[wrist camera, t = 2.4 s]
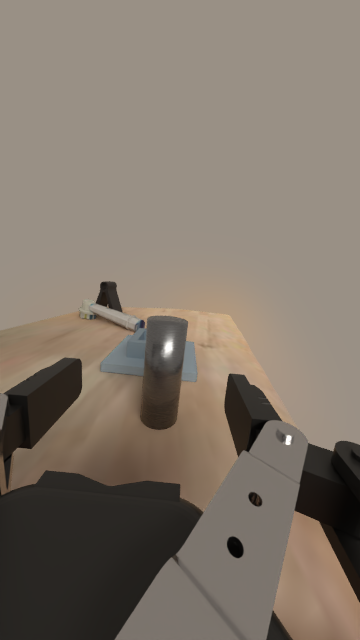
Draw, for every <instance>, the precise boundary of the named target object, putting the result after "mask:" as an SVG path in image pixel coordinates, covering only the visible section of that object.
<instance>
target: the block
mask: <svg viewBox="0 0 360 640" xmlns="http://www.w3.org/2000/svg"><path fill="white" fill-rule="evenodd" d="M146 332H147V329H144V328H139V329H138V330H137V331H136V332H135V333H134V335H128V336H127V337H126V338H125V339H124V340H123V341H122V342H121V343H120V344H119V345H118V346H117V347H116V348H115V349H114V350H113V351H112V352H111V353H110V354H109V355H108V356H107V357H106V358H105V359H104V360H103V361H102V362H101V371H103V372H112V373H121V374H130V375H139V376H143V375H144V361H145V346H146ZM181 380H184V381H193V382H196V380H197V366H196V357H195V348H194V342H188V341H186V344H185V353H184V361H183V370H182V379H181Z"/></svg>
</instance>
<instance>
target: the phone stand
mask: <svg viewBox="0 0 360 640" xmlns="http://www.w3.org/2000/svg"><path fill="white" fill-rule="evenodd" d="M116 287H117V285H116V283H115V282H102V283H101V284H100V288H101V289H100V293H99V296H98V298H97V301H96V304H98V305H101V306H104V307H107V305H108V306H109V308H110V309H113V310H116V311H119V312H122V309H121V305H120V302H119V298H118V295H117V291H116ZM122 313H123V312H122Z"/></svg>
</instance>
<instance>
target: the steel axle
mask: <svg viewBox="0 0 360 640" xmlns="http://www.w3.org/2000/svg"><path fill="white" fill-rule="evenodd" d="M187 327H188V321H186V320H184V319H181V318H177V317H172V316H152V317H149V318H148V319H147V332H146V346H145V361H144V375H143V389H142V404H141V421H142V422H143V423H144V424H145V425H146V426H147V427H149V428H152V429H158V430H161V429H167V428H169V427H171V426H172V425H174V424H175V422H176V420H177V413H178V404H179V396H180V387H181V379H182V370H183V361H184V353H185V344H186V336H187Z"/></svg>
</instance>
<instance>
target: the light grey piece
mask: <svg viewBox="0 0 360 640" xmlns="http://www.w3.org/2000/svg"><path fill="white" fill-rule="evenodd" d="M79 312H80V318H82V319H85V318H86V319H96V315H99V316H101V317H103V318H106V319H108V320H110V321H112V322H114V323H116V324H118V325H121V326H123V327H125V328H126V329H127V330H131V331H134V332H136V331H137V330H138V329H139V328H144V327H145V322H144V321H143V320H141V319H139V318H136V316H135V315H133V316H131V315H128V314H125V313H122V312H119V311H116V310H113V309H110V308H107V307H104V306H101V305H98V304H96V303H95V301H93V300H87V299H86V300H84V301H83V303H82V307H80V308H79Z"/></svg>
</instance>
